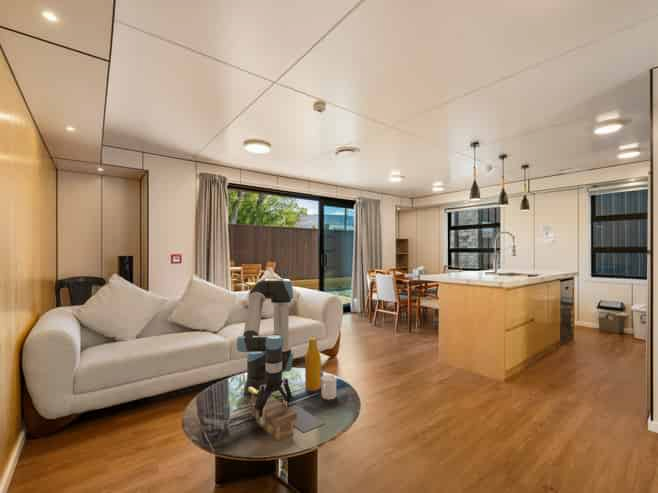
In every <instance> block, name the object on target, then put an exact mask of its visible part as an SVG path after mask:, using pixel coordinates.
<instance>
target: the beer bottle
mask: <svg viewBox="0 0 658 493" xmlns="http://www.w3.org/2000/svg"><path fill="white" fill-rule="evenodd" d="M304 361H305V363H304V364H305V369H304V370H305V371H304V372H305V374H304V377H305V380H304V381H305V383H304V386H305V387H304V388H305V389H306V390H307V391H310V392H314V391H315V392H316V391H318V390H320V389H321V378H322V374H321V370H322V368H321V367H322V366H321V362H322V360H321V354H320V351H319V348H318V342H317V338H316V337H310V338H309V340H308V349H307V351H306V354H305V358H304Z"/></svg>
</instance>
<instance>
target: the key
mask: <svg viewBox="0 0 658 493" xmlns="http://www.w3.org/2000/svg"><path fill="white" fill-rule="evenodd" d="M248 391H250V392H251V393H252V392H254V393H255V396H256V397H257V396H258V392H259V390H256V389H255V388H253V387H252V386H251V387H248Z"/></svg>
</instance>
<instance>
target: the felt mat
mask: <svg viewBox="0 0 658 493" xmlns="http://www.w3.org/2000/svg"><path fill="white" fill-rule="evenodd" d="M288 407H289V408H290V409H292V410H293V411H295V412H296V413H297V420H295V421H293V427H295V428H296V429H297V430H298V431H300V432H302V433H303V434H305V433H308V432H309V431H312V430H314V429H317V428H318V427H321V426H323V425H325V422H323V421H322V420H321V419H319V418H317V417H315V415H313V414H311V413H310V412H308V411H306V410H305V409H303V408H302V407H300V406H299V405H297V404H294V405H292V406H288Z"/></svg>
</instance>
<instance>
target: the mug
mask: <svg viewBox="0 0 658 493" xmlns="http://www.w3.org/2000/svg"><path fill="white" fill-rule="evenodd" d="M320 389H321V392H320V393H321V398H323V399H324V400H326V401H327V400H330V399H331V400H334V399H336V398H337V377H336V376H334V375H329V374H328V375H323V376H321V387H320Z"/></svg>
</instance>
